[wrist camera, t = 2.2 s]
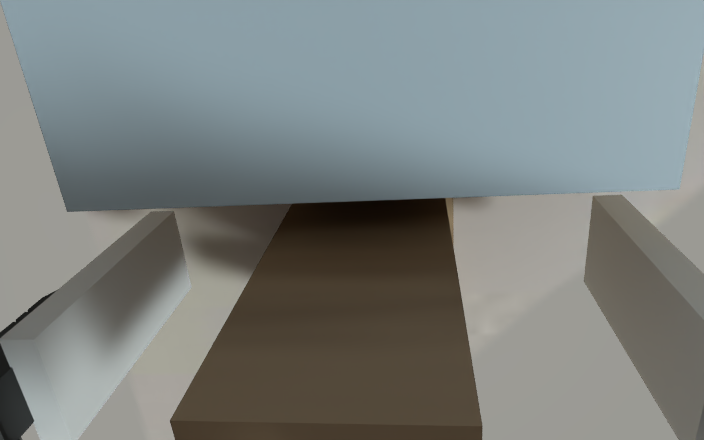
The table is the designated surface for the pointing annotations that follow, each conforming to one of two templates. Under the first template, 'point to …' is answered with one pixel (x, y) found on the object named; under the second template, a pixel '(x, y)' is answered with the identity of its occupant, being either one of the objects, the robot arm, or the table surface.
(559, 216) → the table surface
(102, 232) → the table surface
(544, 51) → the lid
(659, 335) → the robot arm
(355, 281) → the brown wooden block
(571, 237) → the table surface
